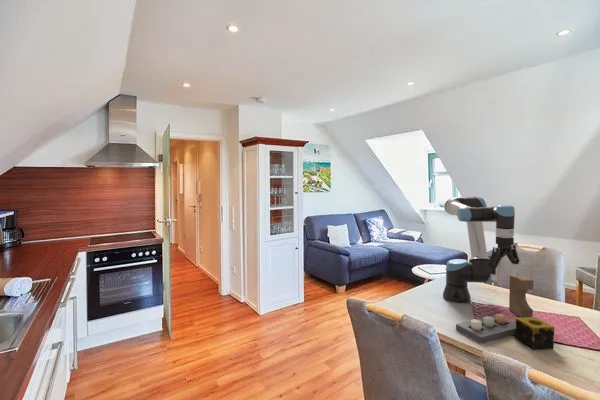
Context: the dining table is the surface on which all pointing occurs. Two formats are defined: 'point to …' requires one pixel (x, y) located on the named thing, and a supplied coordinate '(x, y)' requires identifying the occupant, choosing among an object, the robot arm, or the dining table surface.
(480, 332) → the panel
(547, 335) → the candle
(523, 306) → the decorative block
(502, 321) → the terracotta button
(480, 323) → the cream button
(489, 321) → the sage button
